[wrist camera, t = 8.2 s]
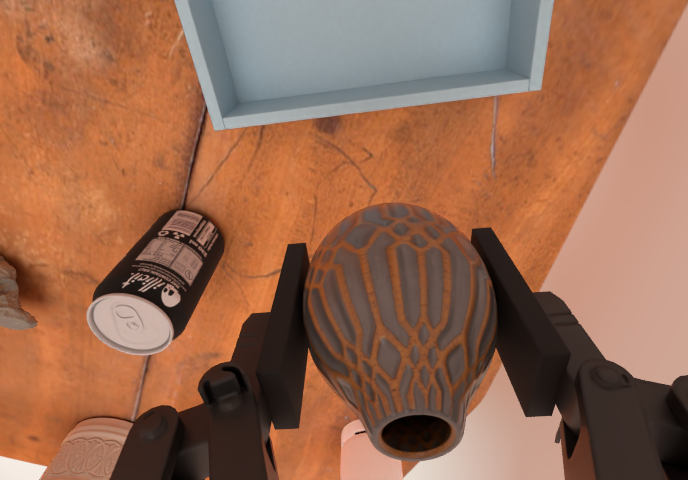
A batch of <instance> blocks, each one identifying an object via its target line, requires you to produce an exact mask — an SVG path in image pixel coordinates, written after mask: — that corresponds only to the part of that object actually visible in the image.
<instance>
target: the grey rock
mask: <svg viewBox="0 0 688 480" xmlns="http://www.w3.org/2000/svg"><path fill="white" fill-rule="evenodd" d="M15 281H16V270H15V269H14V268H13V267H12V266H10V265H9V264H8V262H6V261H5V258H4V257H2V256H1V255H0V326H2V327H5V328H8V329H13V330H25V329H29V328H34V327H36V326H37V322H38V321H37V320H35V317H33V316H31V315H30V313H28V312H26V311H24V310H23V309H22V308H21V305H20V302H19V295H18V293H19V291H18V290H19V288H18V285H17V283H16V282H15Z"/></svg>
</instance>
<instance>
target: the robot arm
mask: <svg viewBox="0 0 688 480" xmlns="http://www.w3.org/2000/svg"><path fill="white" fill-rule="evenodd" d="M471 244H472V245H473V246H474V248H475V249H476V251H477V252H478V254H479V256H480V257H481V259H482V261H483V262H484V264H485V266H486V269H487V271H488V273H489V275H490V278H491V280H492V284H493V288H494V291H495V296H496V302H497V311H498V336H497V342H496V349H497V351H498V353H499V356H500V358H501V360H502V363H503V365H504V367H505V370H506V372H507V374H508V377H509V379H510V381H511V384H512V386H513V388H514V391H515V393H516V395H517V398H518V400H519V402H520V405H521V407H522V409H523V412H524V414H525V416H526V417H535V416H552V413H553V410H554V407H555V404H556V405H557V408H558V409H559V411H560V413H561V415H562V419H561V422H560V426H559V428H558V431H557V434H556V438H555V442H556V443H559V442H560V439H561V445H562V455H563V464H564V474H565V480H688V375H686V376H680V377H678V378H677V379H676V380H675V381H674V382H673V384H672V385H671V386H670V385H665V384H660V383H655V382H650V381H645V380H641V379H637V378H633V376H632V375H631V374H630V373H629V372H628V371H627V370H625V369H624V368H623V367H621V366H619V365H617V364H616V363H614V362H611V361H608V360H606V359H605V358H604V356H603V355H602V354H601V352H600V351H599V349H598V348H597V347H596V345H595V344H594V343H593V341H592V340H591V339H590V337H589V336H588V334H587V333H586V332H585V330H584V329H583V328H582V326H581V325H580V324H579V323H578V321H577V319H576V318H575V316H574V315H572V314H571V311H570V309H569V308H568V307H567V305H566V304H565V303H564V301H563V300H561V299H560V298H558V297H557V296H556V295H554V294H553V293H551V292H535V293H532V291H531V290H530V288H529V286H528V285H527V283H526V282H525V280H524V279H523V277H522V275H521V274H520V272H519V271H518V269H517V268H516V266H515V265H514V263H513V261H512V260H511V258H510V257H509V255H508V254H507V252H506V250H505V249H504V247H503V246H502V244H501V243H500V241H499V239H498V238H497V236H496V235H495V233H494V232H493V230H492V228H491V227H490V228H478V229H472V236H471ZM309 266H310V263H309V258H308V253H307V247H306V243H298V244H288V247H287V250H286V254H285V258H284V262H283V266H282V270H281V274H280V278H279V282H278V286H277V289H276V293H275V297H274V301H273V305H272V309H271V312H267V313H253V314H251V315H250V316H249V318H248V319H247V320H246V321H245V322H244V324H243V326H242V329H241V332H240V335H239V338H238V341H237V344H236V347H235V350H234V353H233V356H232V359H231V362H224V363H220V364H218V365H216V366H214V367H212V368H211V369H210V370H208V371H207V372H206V373H205V374H204V375H203V377H202V378H201V380H200V381H199V386H198V391H199V393H200V395H201V397H202V399H203V401H204V403H203V404H200V405H198V406H195V407H193V408H190V409H187V410H184V411H181V412H178V413H177V411H176V409H175V408H173V407H171V406H165V405H161V406H158V407H154V408H152V409H150V410H148V411H147V412H145V413H143V414H142V415H141V416H140V417H139V418H138V419H137V420H136V421H135V422H134V424H133V425H132V427H131V429H130V430H129V433H128V435H127V438H126V440H125V443H124V445H123V448H122V450H121V453H120V455H119V457H118V460H117V462H116V465H115V467H114V470H113V472H112V475H111V477H110V480H205V478H207V477H209V479H210V480H279V477H278V472H277V467H276V461H275V456H274V451H273V446H272V441H271V438H270V436H269V432H270V427H271V422H273V425H274V428H275V430H276V429H296V428H299V423H300V414H301V406H302V398H303V389H304V381H305V372H306V364H307V356H308V344H307V340H306V336H305V331H304V326H303V318H302V299H303V289H304V284H305V280H306V275H307V272H308V269H309Z"/></svg>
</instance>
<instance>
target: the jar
mask: <svg viewBox="0 0 688 480" xmlns="http://www.w3.org/2000/svg"><path fill="white" fill-rule="evenodd" d="M132 425H133V423H130V422H127V421H124V420H119V419H114V418H92V419H88V420H84V421H82V422H80V423H78V424H77V425H76V426H75V427H74V429H73V430H72V431H70V432H69V433H68V434H67V436H66V437H65V439H64V440H63V442H62V443H61V446H60V449H59V450H58V452H57V453H56V455H55V456H54V458H53V459H52V461H51V463H50V464H49V466H48V467H47V469H46V470H45V472H44V473H43V475H42V476H41V478H40V479H39V480H110V477H111V475H112V472H113V470H114V467H115V465H116V462H117V460H118V457H119V455H120V453H121V450H122V448H123V445H124V443H125V440H126V438H127V435H128V433H129V430H130V429H131V427H132Z"/></svg>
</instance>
